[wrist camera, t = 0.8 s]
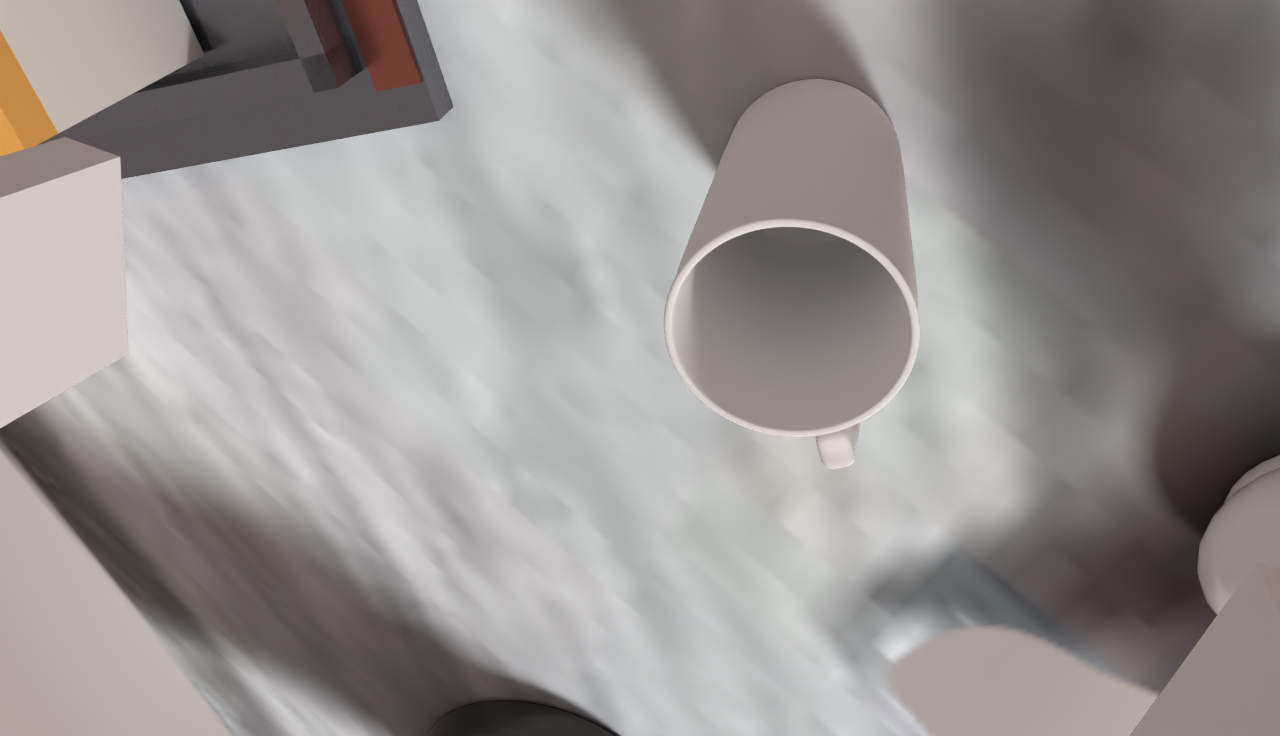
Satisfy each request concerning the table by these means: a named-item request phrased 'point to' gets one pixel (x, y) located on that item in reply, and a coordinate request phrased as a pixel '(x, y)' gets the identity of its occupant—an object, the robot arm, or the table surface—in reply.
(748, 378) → the mug
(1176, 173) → the table surface
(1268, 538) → the flower vase
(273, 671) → the table surface
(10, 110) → the toggle
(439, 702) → the table surface
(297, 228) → the table surface
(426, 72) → the dark gray tray
